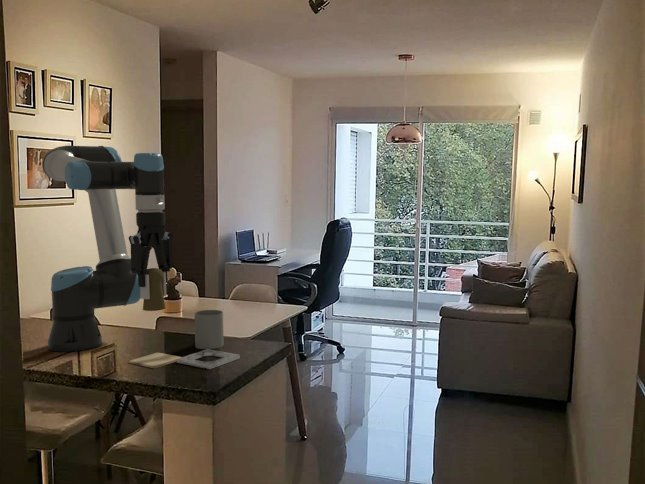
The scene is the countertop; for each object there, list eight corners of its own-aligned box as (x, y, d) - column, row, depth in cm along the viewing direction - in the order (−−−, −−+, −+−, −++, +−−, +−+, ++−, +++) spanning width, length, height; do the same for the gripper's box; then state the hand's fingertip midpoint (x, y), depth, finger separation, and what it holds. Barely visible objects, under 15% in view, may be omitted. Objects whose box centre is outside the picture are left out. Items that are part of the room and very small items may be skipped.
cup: (217, 349, 183) (216, 316, 182) (190, 348, 184) (189, 315, 184) (227, 342, 191) (226, 310, 190) (202, 341, 193) (201, 309, 192)
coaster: (129, 362, 170) (129, 360, 170) (157, 354, 179) (157, 352, 178) (154, 368, 165) (154, 366, 165) (182, 359, 173) (182, 357, 173)
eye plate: (177, 362, 170) (176, 359, 170) (207, 352, 180) (207, 348, 180) (209, 369, 164) (209, 365, 163) (239, 358, 174) (239, 354, 173)
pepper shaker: (170, 307, 171) (169, 267, 170) (153, 311, 166) (152, 270, 165) (154, 305, 174) (153, 266, 173) (137, 309, 169) (136, 269, 168)
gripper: (132, 213, 158) (136, 303, 160) (185, 209, 173) (188, 293, 176) (113, 212, 162) (117, 301, 164) (166, 209, 177) (169, 290, 180)
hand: (153, 296), depth 170 cm, fingers closed on pepper shaker, 5 cm apart
